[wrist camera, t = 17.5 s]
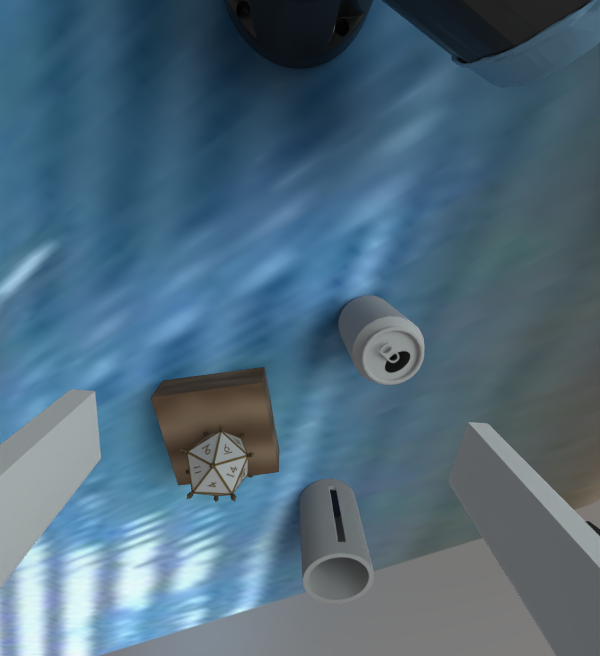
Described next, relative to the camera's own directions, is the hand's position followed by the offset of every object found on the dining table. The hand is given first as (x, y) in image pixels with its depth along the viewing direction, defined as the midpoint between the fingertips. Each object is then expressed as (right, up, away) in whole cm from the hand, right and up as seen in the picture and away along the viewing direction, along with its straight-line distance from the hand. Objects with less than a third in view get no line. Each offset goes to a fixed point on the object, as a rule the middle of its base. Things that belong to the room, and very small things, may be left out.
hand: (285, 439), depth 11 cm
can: (+9, +5, +31) cm, 33 cm away
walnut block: (-10, -9, +35) cm, 38 cm away
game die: (-12, -9, +30) cm, 34 cm away
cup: (+5, -24, +41) cm, 48 cm away
